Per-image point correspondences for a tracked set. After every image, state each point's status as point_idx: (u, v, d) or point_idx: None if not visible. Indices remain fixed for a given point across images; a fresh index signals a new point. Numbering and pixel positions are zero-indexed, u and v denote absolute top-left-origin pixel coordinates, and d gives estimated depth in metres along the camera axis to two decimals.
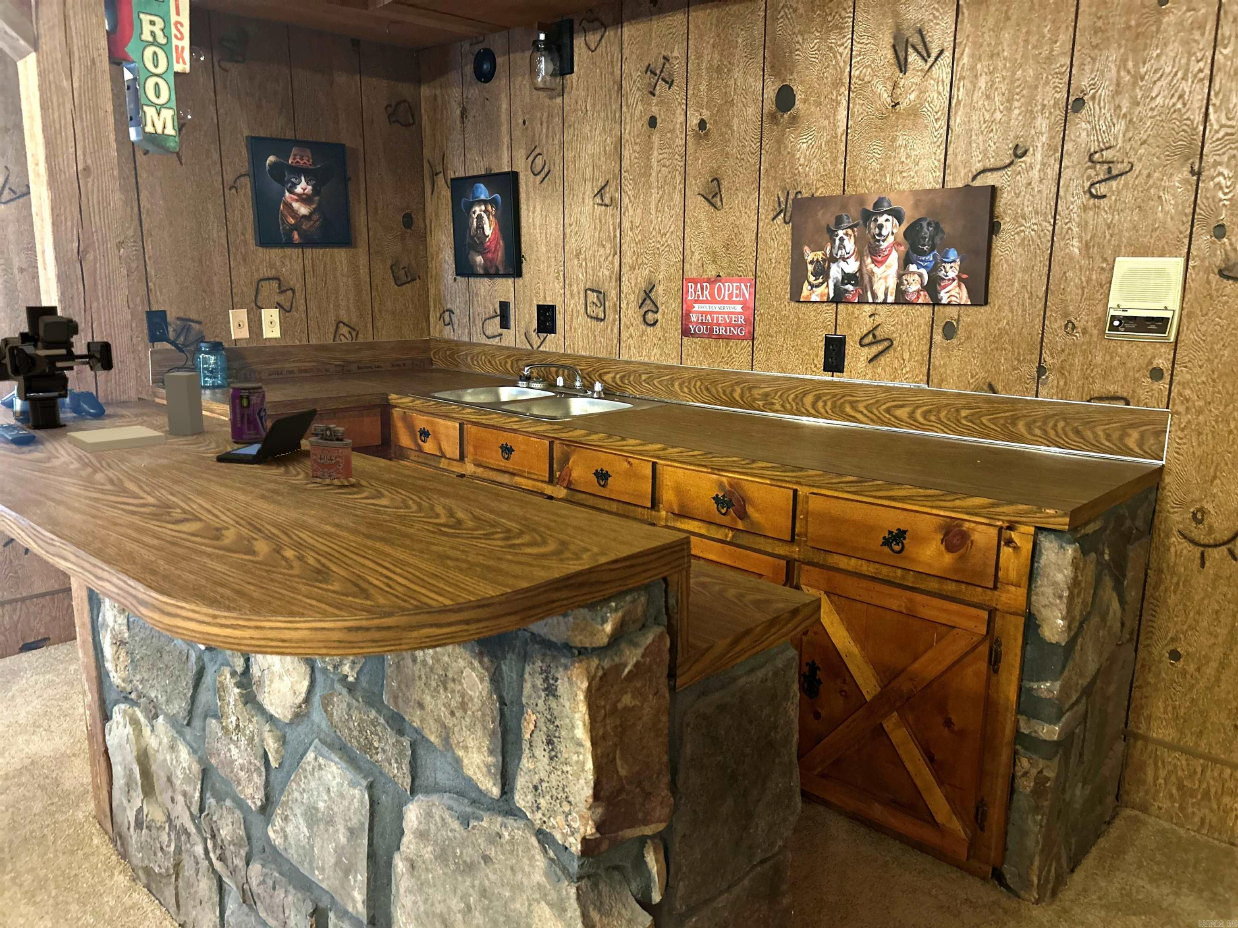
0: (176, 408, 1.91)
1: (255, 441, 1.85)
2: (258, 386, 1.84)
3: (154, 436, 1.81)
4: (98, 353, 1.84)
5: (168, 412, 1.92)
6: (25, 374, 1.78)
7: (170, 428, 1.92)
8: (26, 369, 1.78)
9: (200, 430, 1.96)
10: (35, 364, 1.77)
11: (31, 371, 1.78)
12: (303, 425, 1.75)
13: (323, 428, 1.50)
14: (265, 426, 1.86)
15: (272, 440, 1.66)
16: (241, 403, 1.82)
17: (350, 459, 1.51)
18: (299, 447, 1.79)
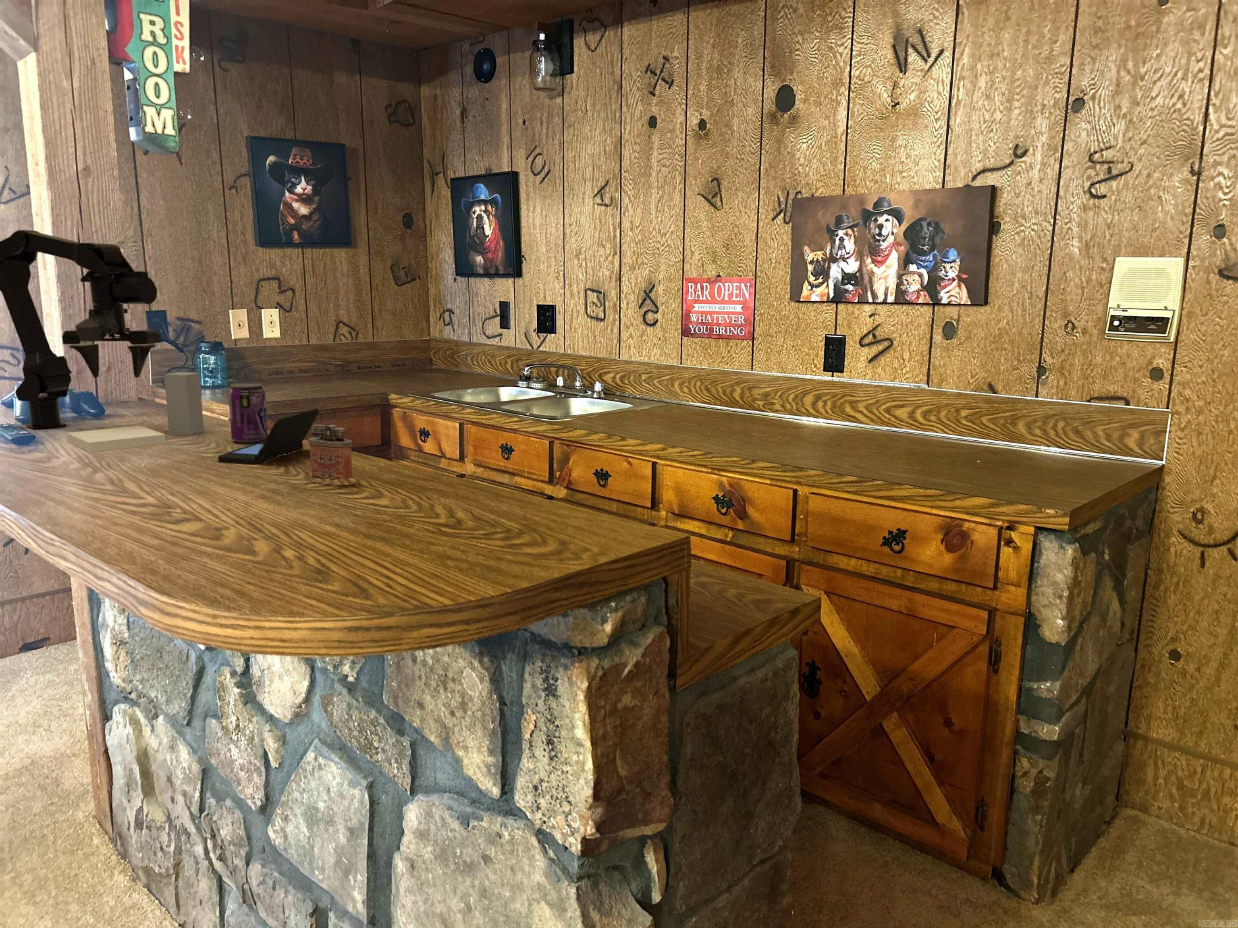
0: (176, 408, 1.91)
1: (255, 441, 1.85)
2: (258, 386, 1.84)
3: (154, 436, 1.81)
4: (136, 364, 1.90)
5: (168, 412, 1.92)
6: None
7: (170, 428, 1.92)
8: None
9: (200, 430, 1.96)
10: None
11: None
12: (305, 425, 1.75)
13: (323, 428, 1.50)
14: (265, 426, 1.86)
15: (274, 440, 1.66)
16: (241, 403, 1.82)
17: (350, 459, 1.51)
18: (301, 447, 1.79)
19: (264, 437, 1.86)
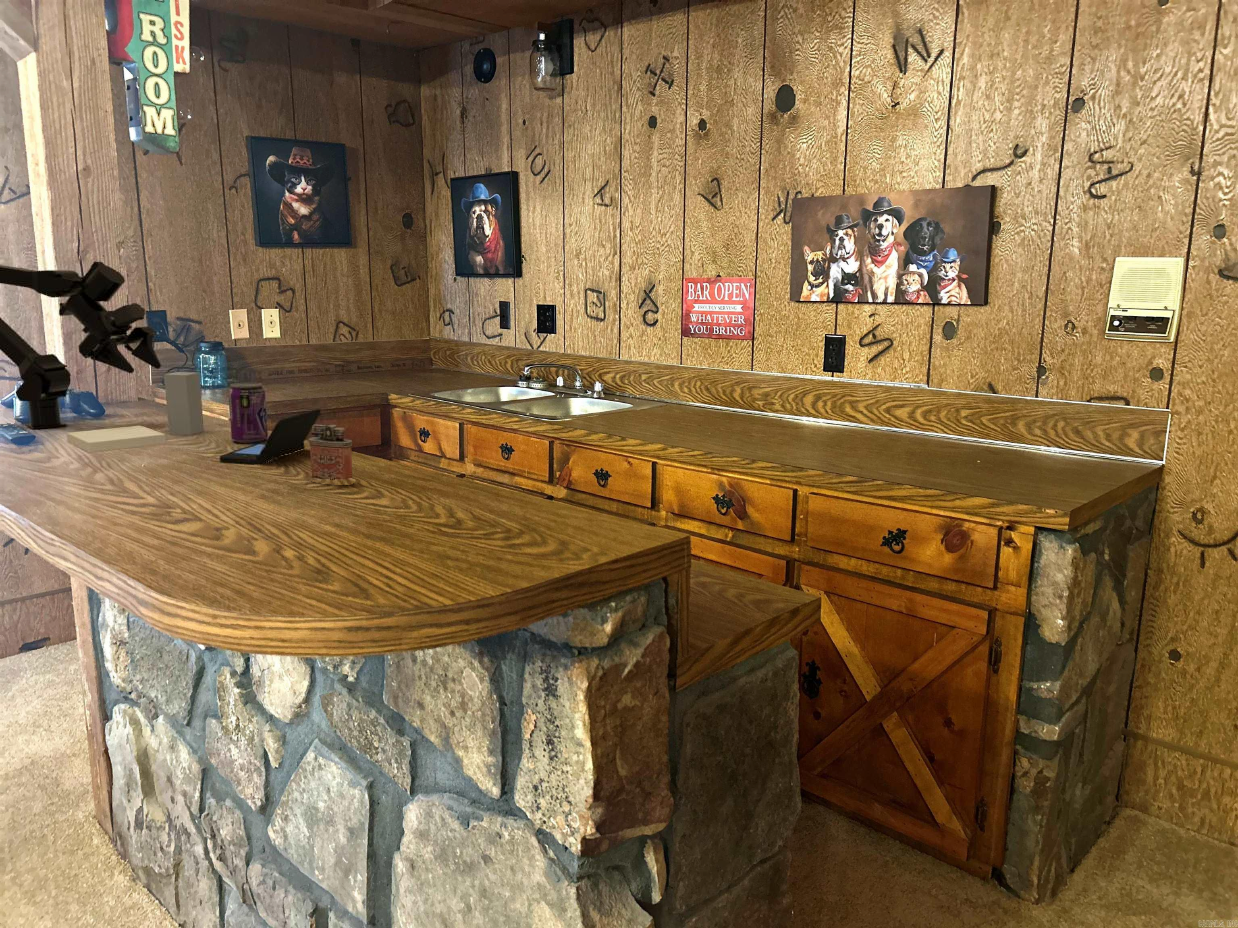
0: (176, 408, 1.91)
1: (255, 441, 1.85)
2: (258, 386, 1.84)
3: (154, 436, 1.81)
4: (155, 354, 1.98)
5: (168, 412, 1.92)
6: (95, 359, 1.86)
7: (170, 428, 1.92)
8: (98, 356, 1.86)
9: (200, 430, 1.96)
10: (114, 361, 1.87)
11: (104, 362, 1.87)
12: (306, 425, 1.75)
13: (323, 428, 1.50)
14: (265, 426, 1.86)
15: (276, 441, 1.66)
16: (241, 403, 1.82)
17: (350, 459, 1.51)
18: (302, 447, 1.79)
19: (264, 437, 1.86)
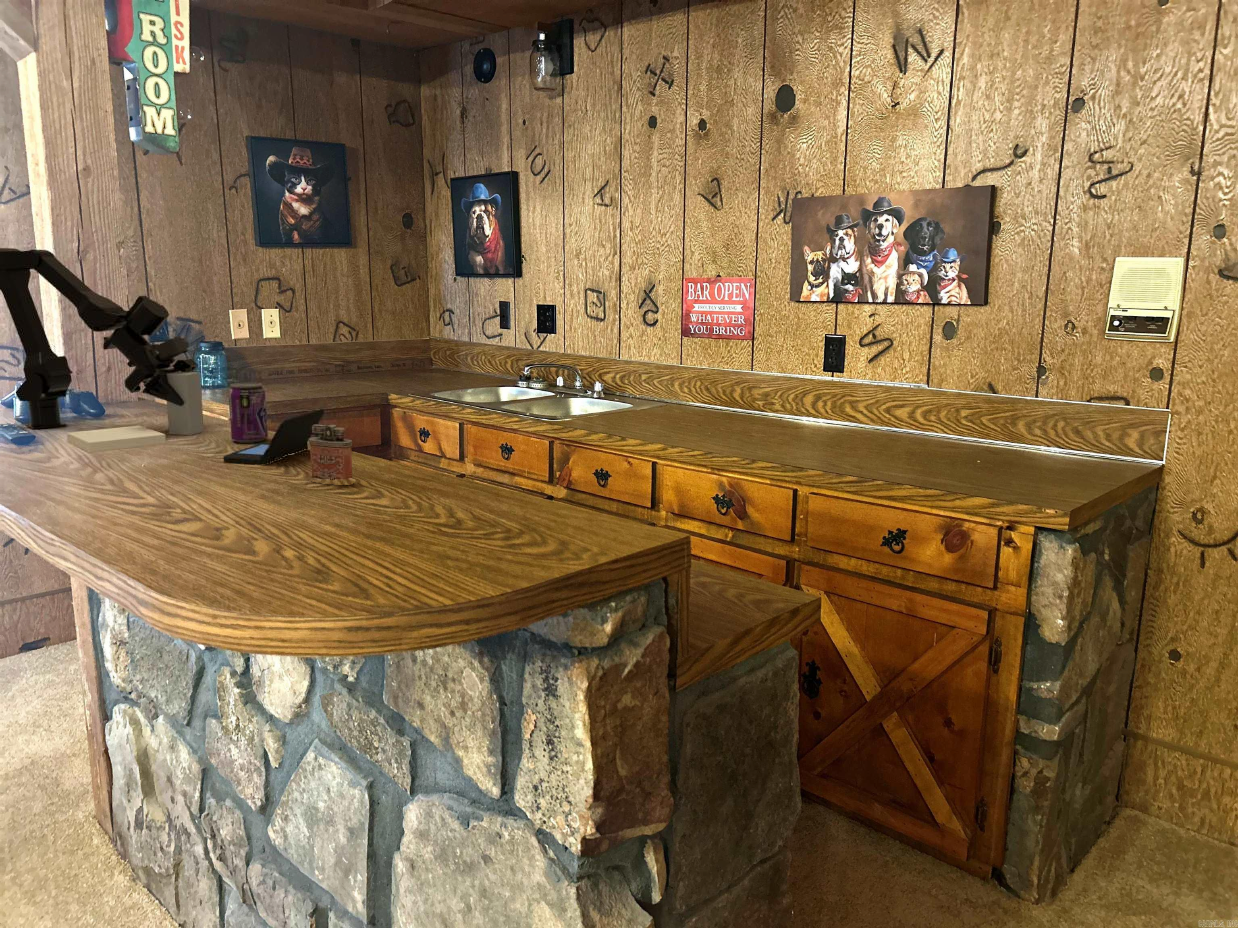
0: (176, 407, 1.91)
1: (255, 441, 1.85)
2: (258, 386, 1.84)
3: (154, 436, 1.81)
4: None
5: (169, 412, 1.92)
6: (146, 392, 1.88)
7: (170, 428, 1.92)
8: (149, 389, 1.88)
9: (200, 430, 1.96)
10: (165, 394, 1.89)
11: (155, 395, 1.89)
12: (310, 425, 1.74)
13: (323, 428, 1.50)
14: (265, 426, 1.86)
15: (280, 441, 1.66)
16: (241, 403, 1.82)
17: (350, 459, 1.51)
18: (306, 447, 1.78)
19: (264, 437, 1.86)
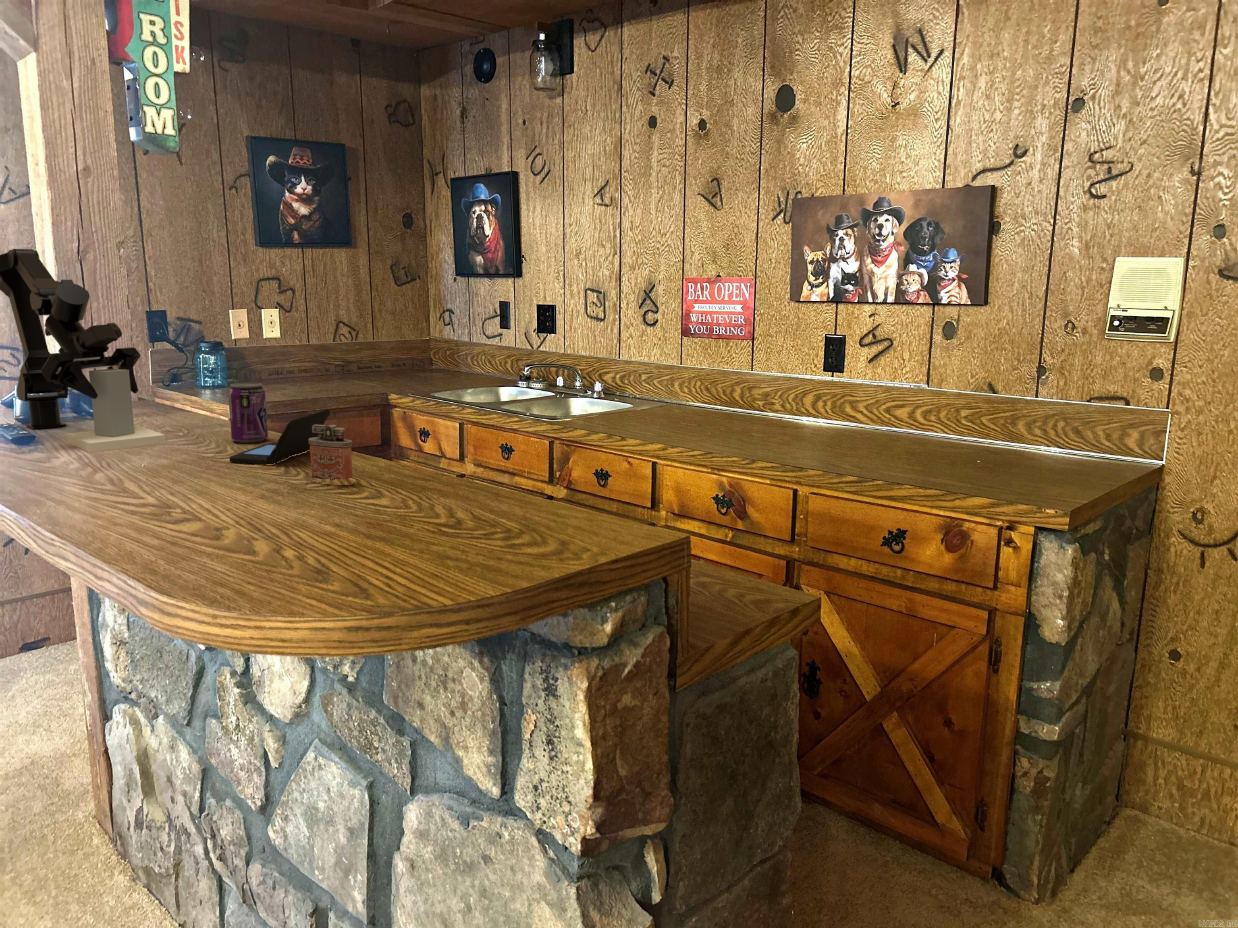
0: (100, 407, 1.78)
1: (255, 441, 1.85)
2: (258, 386, 1.84)
3: (154, 437, 1.81)
4: (134, 377, 1.85)
5: (94, 411, 1.79)
6: (59, 383, 1.75)
7: (96, 428, 1.80)
8: (63, 380, 1.75)
9: (128, 432, 1.82)
10: (78, 385, 1.75)
11: (69, 386, 1.75)
12: None
13: (323, 428, 1.50)
14: (265, 426, 1.86)
15: (287, 441, 1.66)
16: (241, 403, 1.82)
17: (350, 459, 1.51)
18: None
19: (264, 437, 1.86)
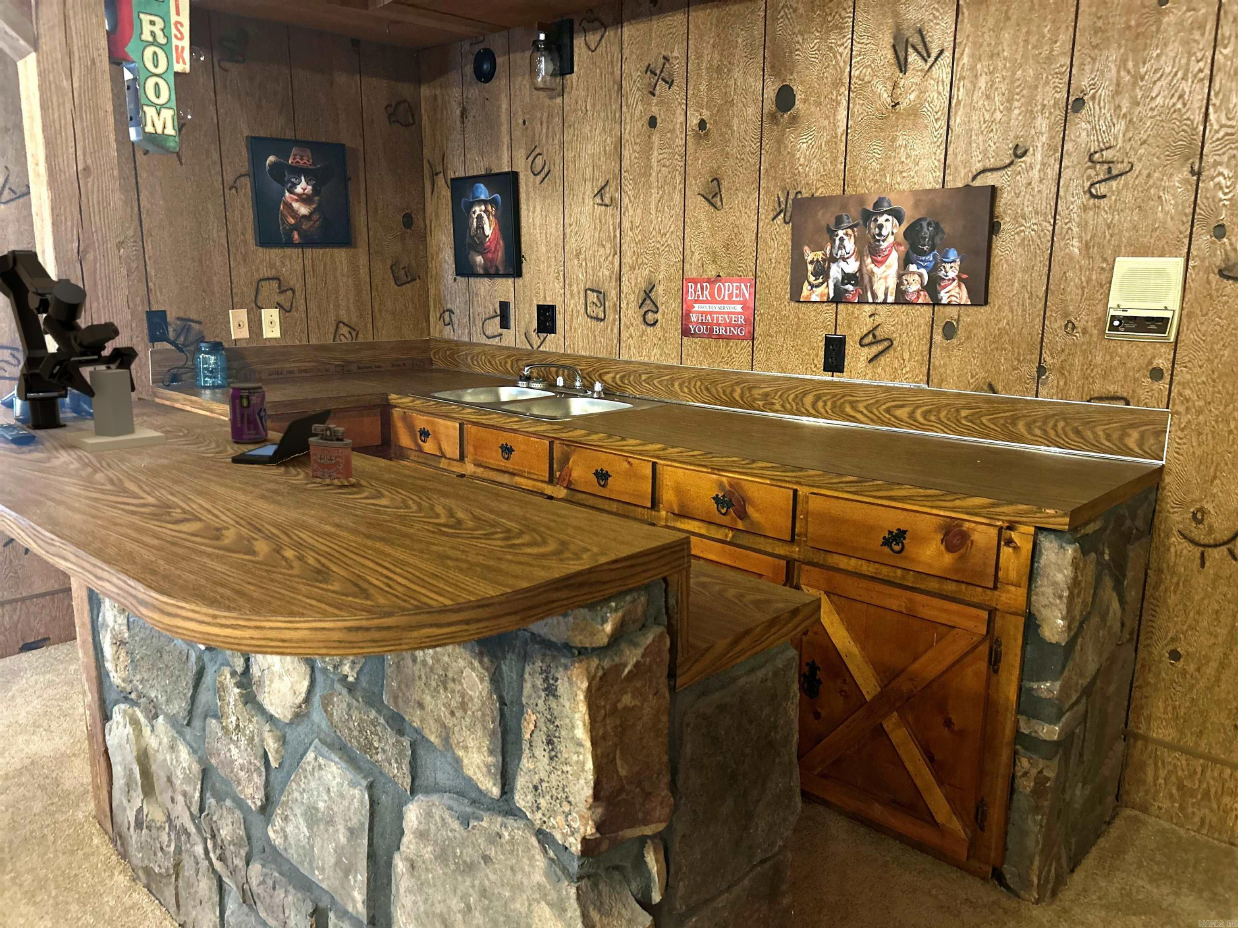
0: (100, 407, 1.78)
1: (255, 441, 1.85)
2: (258, 386, 1.84)
3: (154, 436, 1.81)
4: (131, 376, 1.85)
5: (94, 411, 1.79)
6: (57, 382, 1.75)
7: (96, 428, 1.80)
8: (61, 378, 1.75)
9: (129, 432, 1.82)
10: (75, 384, 1.75)
11: (66, 384, 1.75)
12: None
13: (323, 428, 1.50)
14: (265, 426, 1.86)
15: (288, 441, 1.66)
16: (241, 403, 1.82)
17: (350, 459, 1.51)
18: None
19: (264, 437, 1.86)
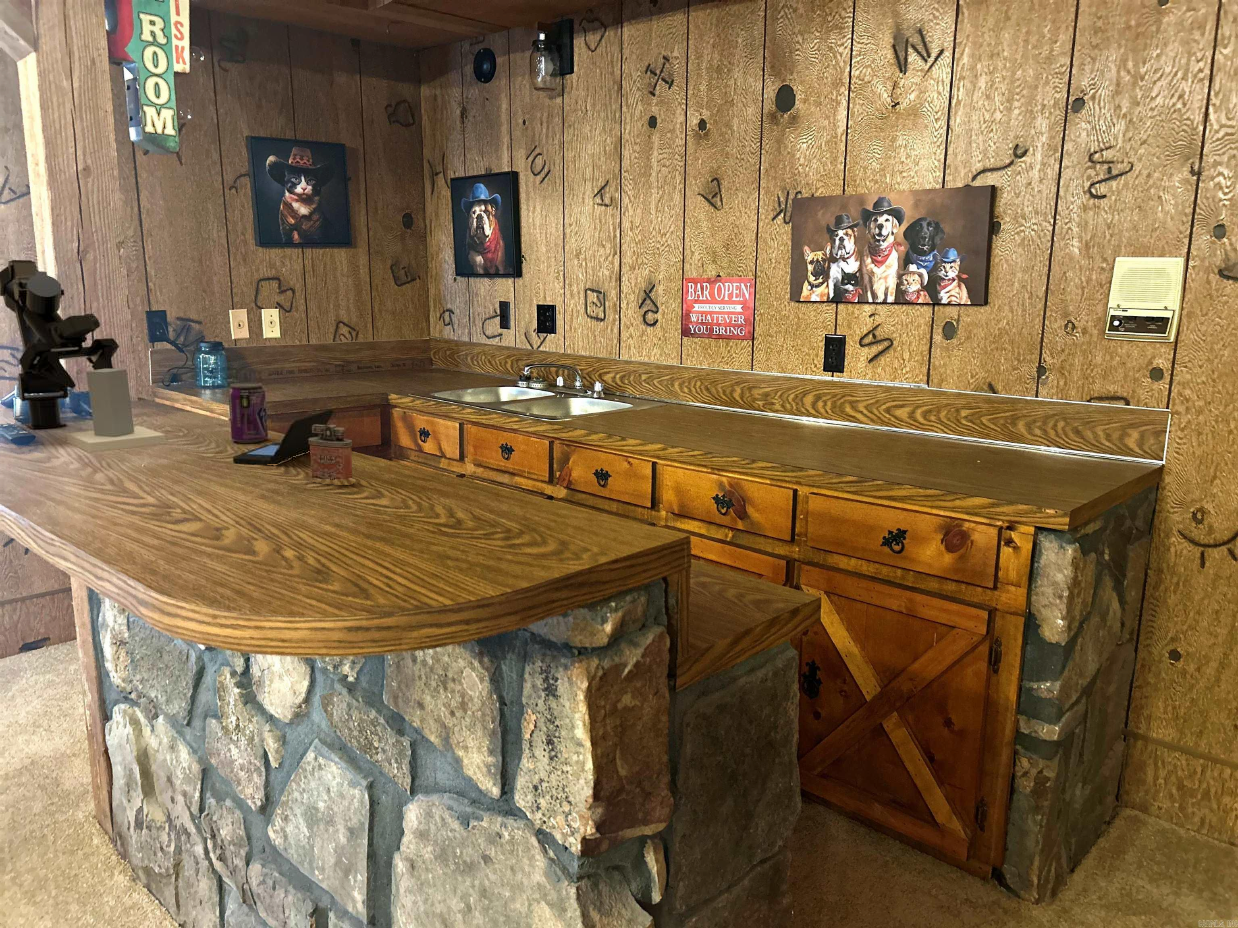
0: (100, 407, 1.78)
1: (255, 441, 1.85)
2: (258, 386, 1.84)
3: (154, 436, 1.81)
4: (112, 367, 1.86)
5: (93, 412, 1.79)
6: (37, 373, 1.77)
7: (95, 429, 1.80)
8: (41, 369, 1.77)
9: (129, 431, 1.82)
10: (56, 375, 1.77)
11: (46, 375, 1.77)
12: None
13: (323, 428, 1.50)
14: (265, 426, 1.86)
15: (290, 441, 1.66)
16: (241, 403, 1.82)
17: (350, 459, 1.51)
18: None
19: (264, 437, 1.86)
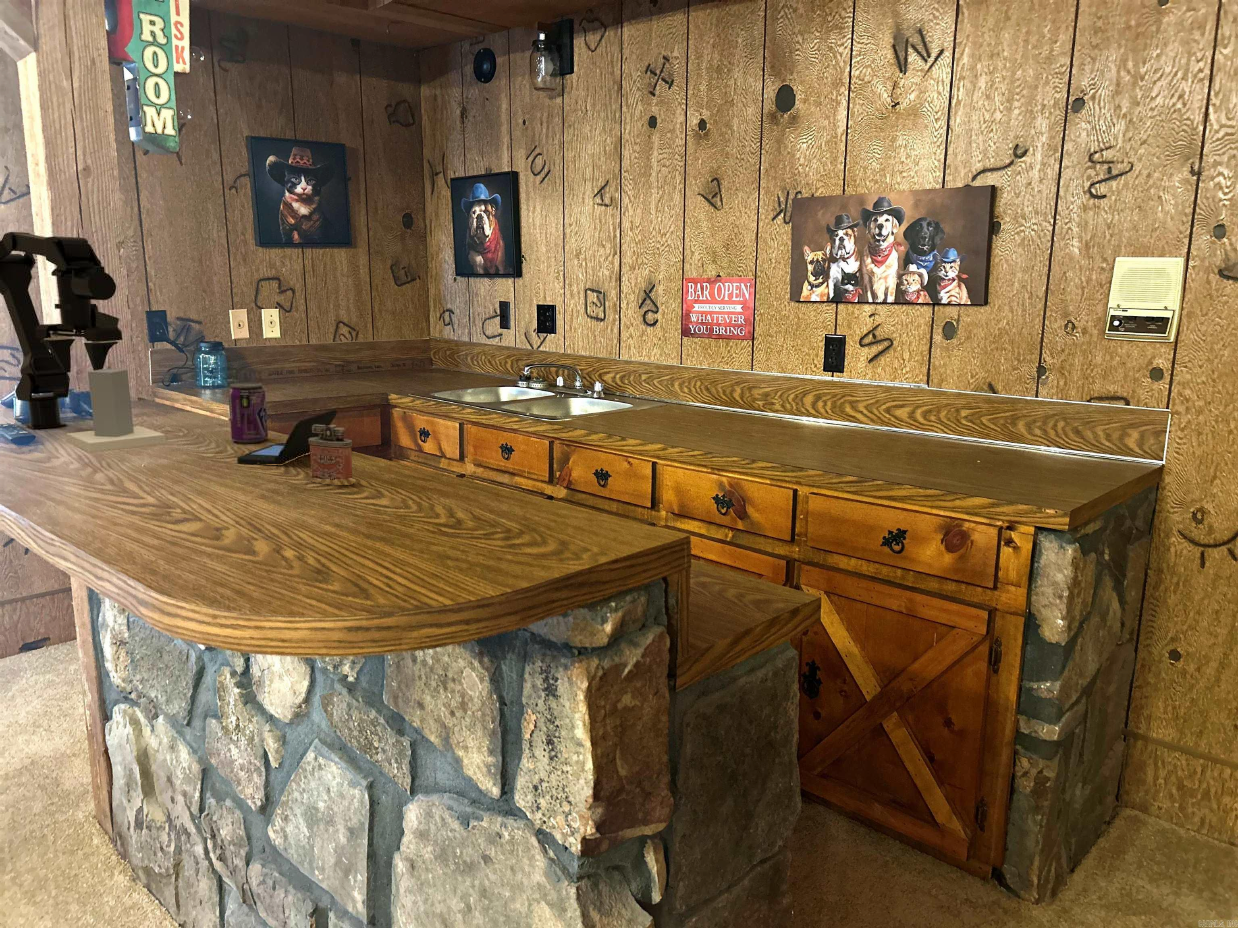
0: (101, 408, 1.78)
1: (255, 441, 1.85)
2: (258, 386, 1.84)
3: (154, 436, 1.81)
4: None
5: (93, 412, 1.78)
6: (92, 345, 1.82)
7: (96, 429, 1.79)
8: (95, 345, 1.83)
9: (129, 431, 1.82)
10: (98, 357, 1.85)
11: (93, 352, 1.83)
12: None
13: (323, 428, 1.50)
14: (265, 426, 1.86)
15: (295, 442, 1.65)
16: (241, 403, 1.82)
17: (350, 459, 1.51)
18: None
19: (264, 437, 1.86)
